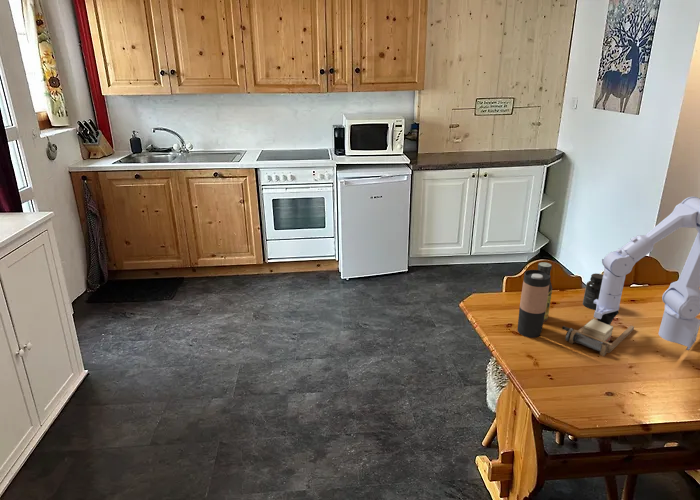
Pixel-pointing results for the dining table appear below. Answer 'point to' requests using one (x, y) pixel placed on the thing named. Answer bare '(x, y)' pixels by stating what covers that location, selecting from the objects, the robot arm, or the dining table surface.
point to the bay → (610, 345)
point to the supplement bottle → (592, 291)
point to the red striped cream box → (598, 330)
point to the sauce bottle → (547, 268)
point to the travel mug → (533, 303)
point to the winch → (585, 341)
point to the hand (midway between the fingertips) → (602, 330)
